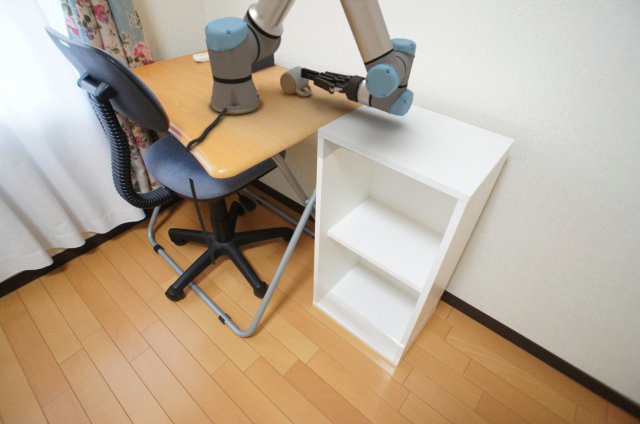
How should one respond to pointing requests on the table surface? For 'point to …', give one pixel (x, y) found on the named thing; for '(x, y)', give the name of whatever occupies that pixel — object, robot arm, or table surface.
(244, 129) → the table surface
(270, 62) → the storage box
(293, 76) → the ceramic mug
